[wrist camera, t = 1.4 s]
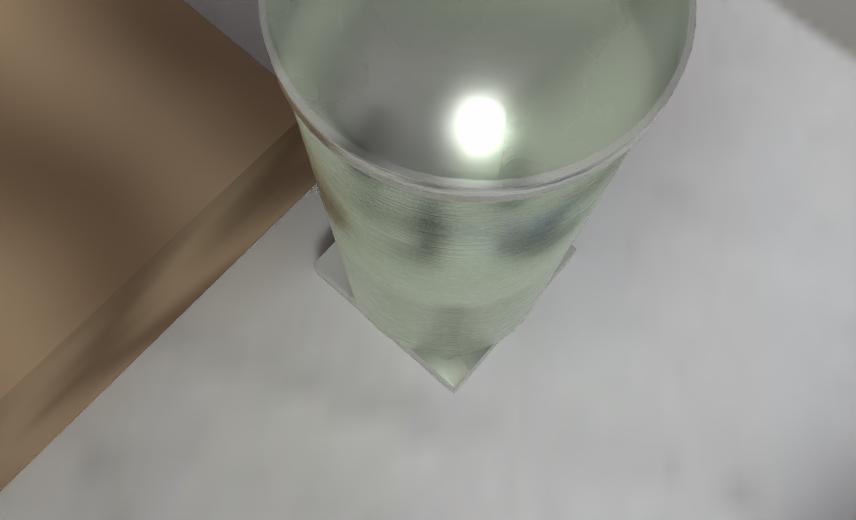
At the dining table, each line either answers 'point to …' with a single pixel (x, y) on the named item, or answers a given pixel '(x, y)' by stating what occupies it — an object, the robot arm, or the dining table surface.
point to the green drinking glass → (466, 146)
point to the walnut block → (121, 191)
